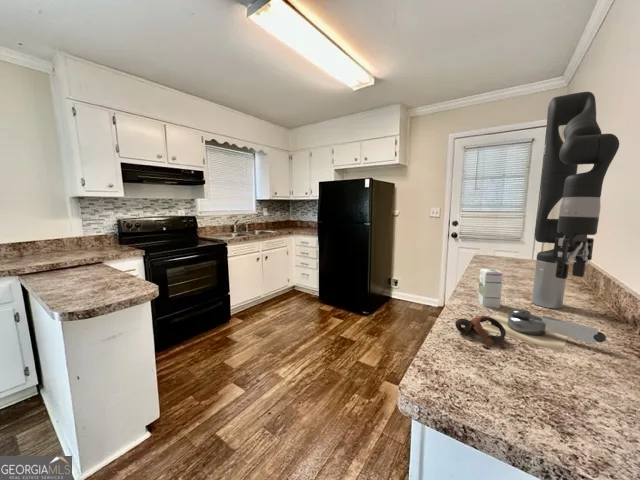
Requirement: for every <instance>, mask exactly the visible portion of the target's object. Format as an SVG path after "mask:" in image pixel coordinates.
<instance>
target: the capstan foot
mask: <svg viewBox="0 0 640 480" xmlns="http://www.w3.org/2000/svg"><path fill="white" fill-rule="evenodd" d="M508 315H509V316H508V326H509V327H510V328H511V329H513V330H515V331H518V332H521V333H524V334H528V335H535V336H541V335H545V334H546V331H548V332H552V333H556V334H560V335H563V336H567V337H568V338H571V339H575V340H579V341H583V342H586V343H589V344H590V343H591V344H594V345H596V344H597V343H604V342H606V340H607V336H606V335H605V333H603V332H602V331H599V328H598V327H597V328H596V327H593V326H588V325H584V324H581V323H580V324H579V323H575V322H572V321H568V320H563V319H559V318H555V317H551V316H546V315H543V316H542V318H541V317H539V316H536V315H534V314H531V311H528V310H526V309H523V308H513V309H512V312H511V313H508Z"/></svg>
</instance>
